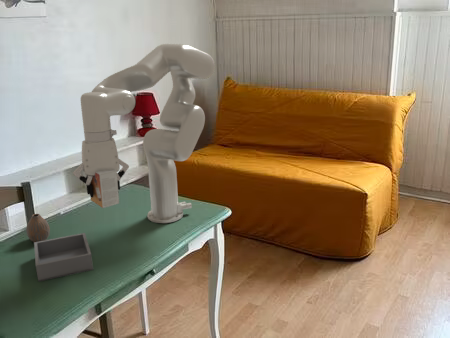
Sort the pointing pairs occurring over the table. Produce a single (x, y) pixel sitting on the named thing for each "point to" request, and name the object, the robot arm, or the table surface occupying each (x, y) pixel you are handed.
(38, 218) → the vase
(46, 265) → the bin
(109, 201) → the small box
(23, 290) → the table surface
